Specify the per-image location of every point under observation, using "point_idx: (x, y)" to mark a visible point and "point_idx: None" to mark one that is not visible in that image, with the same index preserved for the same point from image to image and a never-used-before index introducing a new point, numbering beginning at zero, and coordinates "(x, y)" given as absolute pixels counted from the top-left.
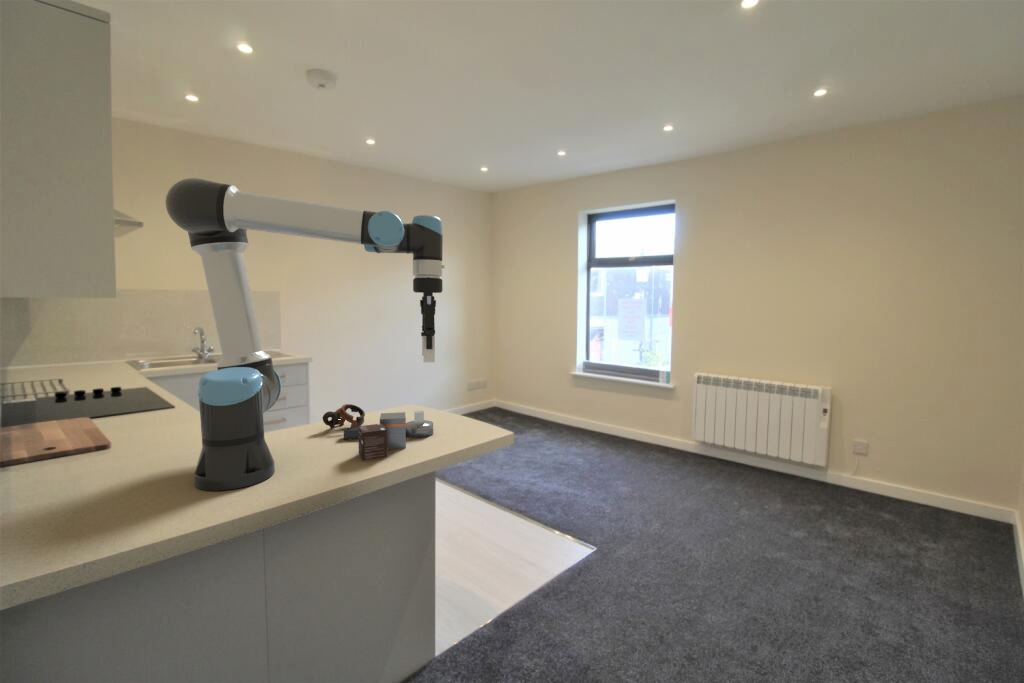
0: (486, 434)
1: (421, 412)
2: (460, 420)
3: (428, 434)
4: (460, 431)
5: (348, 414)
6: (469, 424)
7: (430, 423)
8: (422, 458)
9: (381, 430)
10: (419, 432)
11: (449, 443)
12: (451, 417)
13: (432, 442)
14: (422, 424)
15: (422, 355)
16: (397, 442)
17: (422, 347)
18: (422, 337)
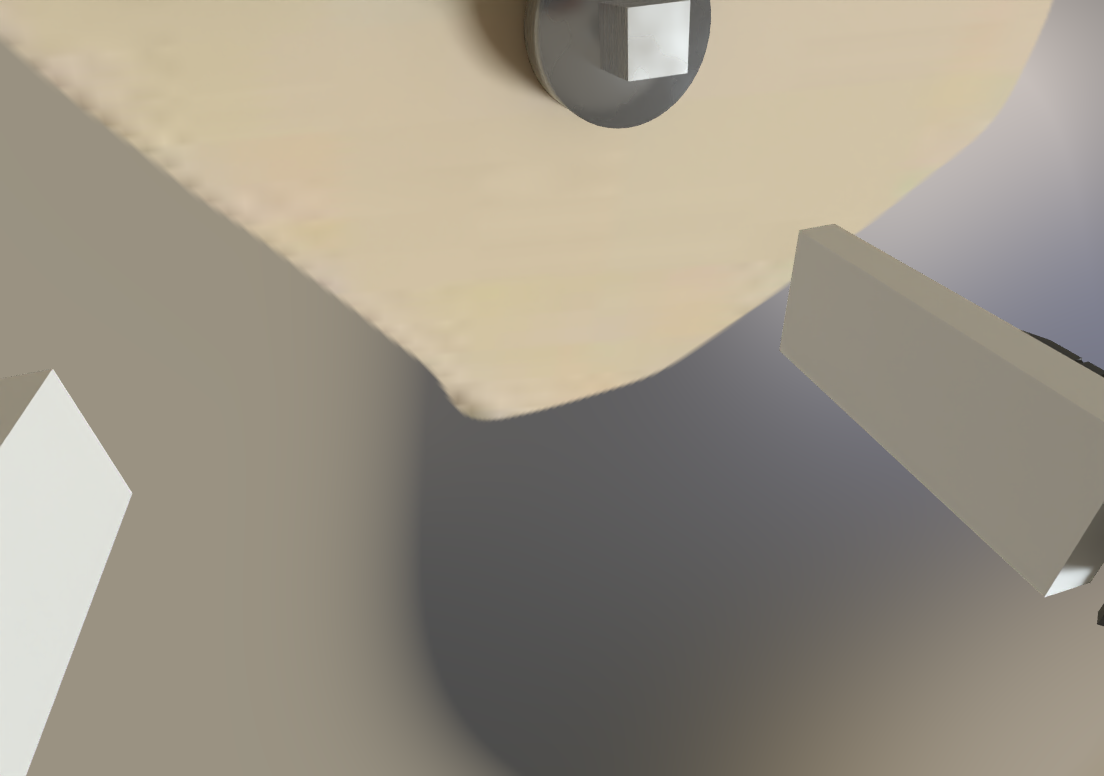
0: (546, 371)
1: (635, 63)
2: None
3: (549, 93)
4: (613, 256)
5: None
6: (719, 288)
7: (619, 110)
8: (132, 90)
9: None
10: (533, 39)
11: (415, 219)
12: (868, 191)
13: (435, 124)
14: (600, 59)
15: (801, 235)
16: None
17: (879, 285)
18: (1027, 378)
